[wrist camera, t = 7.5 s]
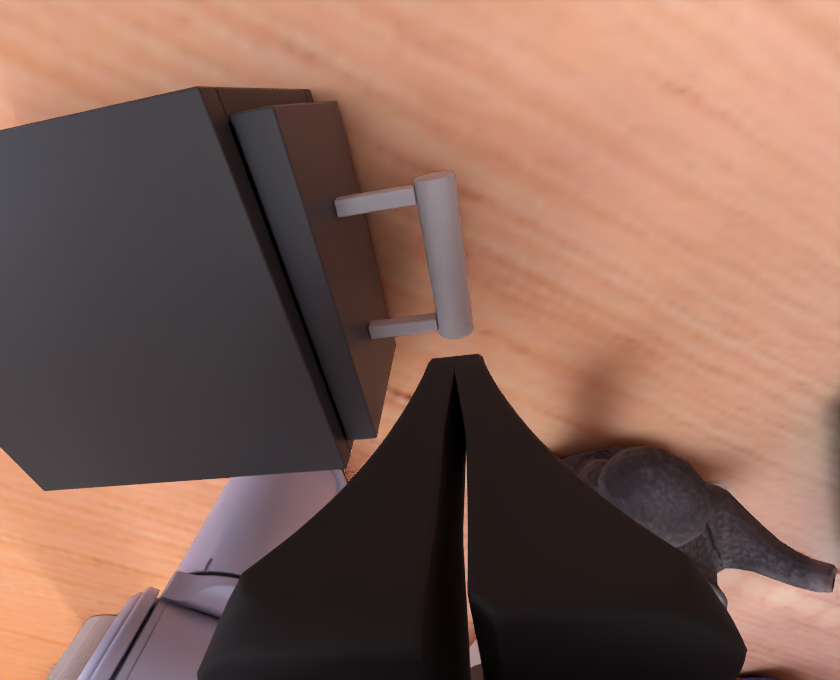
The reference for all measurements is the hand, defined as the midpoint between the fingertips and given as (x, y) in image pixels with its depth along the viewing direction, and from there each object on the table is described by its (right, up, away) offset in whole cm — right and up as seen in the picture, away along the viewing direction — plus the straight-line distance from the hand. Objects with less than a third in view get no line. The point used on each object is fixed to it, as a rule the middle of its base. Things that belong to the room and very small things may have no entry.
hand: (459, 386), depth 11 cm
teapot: (+11, -7, +16) cm, 20 cm away
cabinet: (-11, +5, +10) cm, 16 cm away
